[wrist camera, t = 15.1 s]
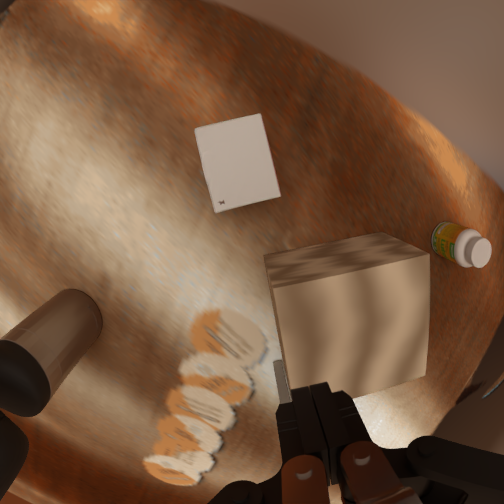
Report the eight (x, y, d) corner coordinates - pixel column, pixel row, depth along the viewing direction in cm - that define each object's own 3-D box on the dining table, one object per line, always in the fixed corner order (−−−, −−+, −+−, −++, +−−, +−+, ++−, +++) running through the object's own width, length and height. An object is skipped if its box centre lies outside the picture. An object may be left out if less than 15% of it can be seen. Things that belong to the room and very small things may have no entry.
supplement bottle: (425, 234, 44) (462, 248, 34) (448, 214, 43) (488, 225, 34) (438, 262, 45) (474, 281, 35) (460, 242, 44) (498, 257, 35)
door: (265, 363, 47) (272, 416, 35) (280, 360, 47) (292, 412, 35) (284, 434, 51) (292, 485, 39) (297, 432, 51) (308, 482, 39)
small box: (269, 191, 42) (282, 198, 29) (221, 203, 42) (213, 215, 29) (254, 130, 40) (261, 111, 27) (206, 142, 40) (191, 128, 27)
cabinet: (282, 356, 47) (294, 412, 35) (263, 255, 44) (273, 288, 31) (387, 331, 47) (425, 375, 34) (381, 231, 43) (429, 253, 31)
